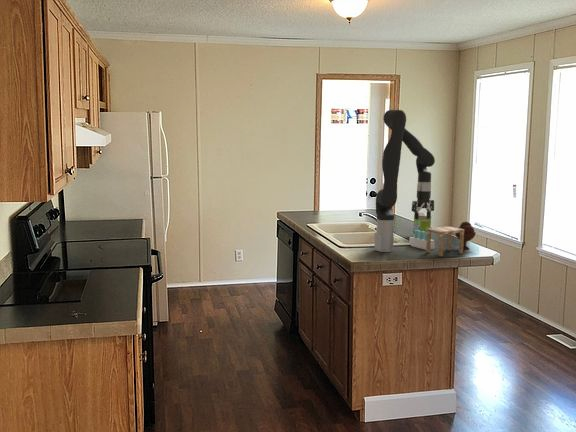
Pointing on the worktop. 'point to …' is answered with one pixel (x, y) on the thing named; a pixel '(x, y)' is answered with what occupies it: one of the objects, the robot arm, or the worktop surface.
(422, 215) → the tea box
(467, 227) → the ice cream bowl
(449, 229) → the beige wooden stool
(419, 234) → the white and teal block
